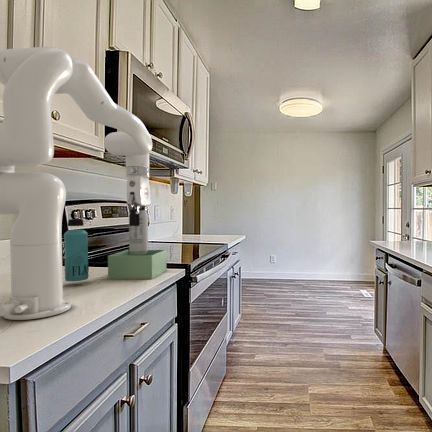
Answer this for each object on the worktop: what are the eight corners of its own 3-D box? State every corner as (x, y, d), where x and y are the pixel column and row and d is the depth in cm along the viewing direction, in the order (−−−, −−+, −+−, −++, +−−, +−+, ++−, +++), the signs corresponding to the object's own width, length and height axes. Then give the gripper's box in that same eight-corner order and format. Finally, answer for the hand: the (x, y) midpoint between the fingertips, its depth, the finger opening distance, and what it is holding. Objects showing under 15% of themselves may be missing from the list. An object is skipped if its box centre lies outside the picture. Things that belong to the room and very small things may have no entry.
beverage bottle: (69, 287, 104) (68, 219, 103) (60, 284, 108) (59, 218, 107) (93, 283, 109) (92, 218, 109) (83, 280, 113) (82, 218, 113)
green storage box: (152, 278, 117) (151, 255, 116) (108, 279, 116) (107, 255, 116) (166, 270, 132) (166, 249, 132) (127, 270, 131) (127, 249, 131)
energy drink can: (152, 252, 126) (151, 210, 125) (140, 254, 120) (139, 210, 120) (138, 251, 128) (137, 209, 127) (125, 254, 122) (124, 210, 121)
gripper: (139, 170, 114) (139, 226, 115) (157, 175, 132) (157, 223, 132) (115, 170, 114) (116, 226, 115) (136, 175, 131) (137, 223, 132)
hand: (138, 224), depth 123 cm, fingers closed on energy drink can, 6 cm apart
